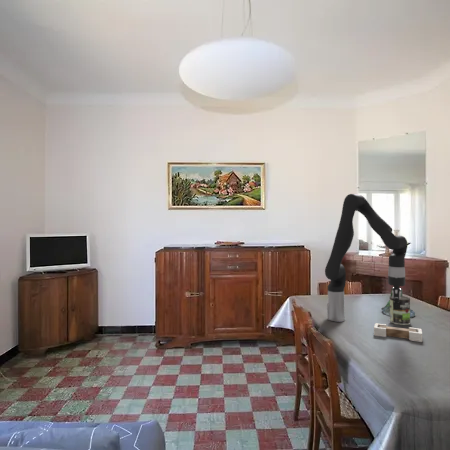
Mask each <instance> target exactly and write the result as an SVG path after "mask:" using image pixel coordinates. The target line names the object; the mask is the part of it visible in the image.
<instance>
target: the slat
mask: <svg viewBox="0 0 450 450" xmlns="http://www.w3.org/2000/svg"><path fill="white" fill-rule="evenodd" d="M380 328H386V337H395V338H400V339H408V340H409V331H412V332H416V330H412V329H409V328H403V327H394V326H380Z"/></svg>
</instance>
